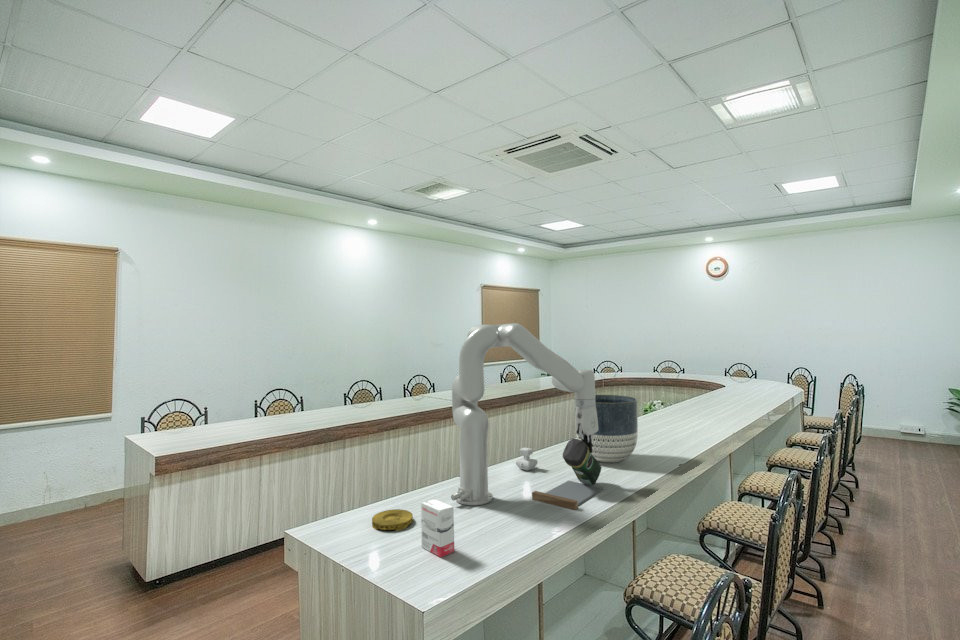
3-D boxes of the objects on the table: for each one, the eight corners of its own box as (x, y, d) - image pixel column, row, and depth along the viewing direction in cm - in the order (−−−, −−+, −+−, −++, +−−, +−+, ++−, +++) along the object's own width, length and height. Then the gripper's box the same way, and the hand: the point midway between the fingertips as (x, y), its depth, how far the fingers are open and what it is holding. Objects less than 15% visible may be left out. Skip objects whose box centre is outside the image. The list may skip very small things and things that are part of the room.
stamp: (527, 473, 187) (526, 452, 187) (513, 470, 191) (513, 449, 191) (539, 468, 193) (539, 447, 194) (526, 465, 198) (526, 445, 198)
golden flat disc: (381, 515, 146) (381, 508, 146) (417, 517, 144) (417, 510, 144) (365, 531, 134) (365, 523, 134) (405, 533, 132) (405, 526, 132)
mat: (575, 507, 149) (575, 505, 149) (538, 498, 158) (538, 496, 158) (603, 489, 166) (603, 487, 166) (568, 482, 174) (568, 480, 174)
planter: (564, 460, 205) (562, 399, 205) (598, 449, 223) (596, 393, 223) (617, 472, 185) (615, 405, 186) (650, 459, 203) (648, 398, 204)
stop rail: (574, 510, 147) (574, 502, 147) (532, 499, 157) (532, 492, 157) (577, 508, 148) (577, 500, 148) (535, 497, 158) (535, 490, 158)
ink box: (455, 551, 120) (454, 505, 121) (440, 558, 117) (439, 511, 117) (435, 541, 126) (434, 497, 127) (420, 547, 123) (419, 502, 123)
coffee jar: (585, 459, 178) (568, 434, 167) (604, 465, 173) (588, 439, 162) (575, 482, 173) (557, 457, 163) (595, 488, 168) (577, 463, 157)
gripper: (585, 406, 164) (587, 458, 163) (603, 400, 175) (605, 449, 175) (566, 405, 168) (568, 455, 168) (585, 399, 180) (587, 447, 180)
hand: (587, 452), depth 171 cm, fingers closed
